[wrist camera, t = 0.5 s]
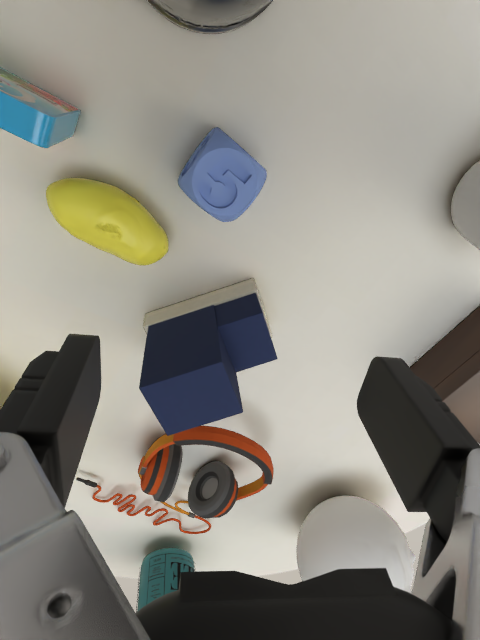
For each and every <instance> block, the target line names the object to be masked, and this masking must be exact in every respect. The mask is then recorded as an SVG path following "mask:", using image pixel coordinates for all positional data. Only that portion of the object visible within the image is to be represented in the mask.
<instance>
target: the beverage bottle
mask: <svg viewBox="0 0 480 640" xmlns="http://www.w3.org/2000/svg"><path fill="white" fill-rule="evenodd" d="M194 568H195V567H194V561H193V558H192V556H191V554H190V553H188V552H187V551H185V550H182V549H178V548H164V549H160V550H156V551H154V552H152V553H150V554H148V555H147V556H146V557H145V558H144V560H143V562H142V565H141V573H140V576H139V577H140V586H139V589H138V590H139V597H138V598H139V600H138V611H139V610H140V609H141V608H142V607H144V606H146V605H147V604H149V603H150V602H152V601H153V600H155V599H157V598H159V597H161V596H163V595H165V594H168V593H171V592H174V591H177V590H179V583H180V575H181V572H194V571H195V572H196V570H194Z"/></svg>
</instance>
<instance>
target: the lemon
mask: <svg viewBox="0 0 480 640" xmlns="http://www.w3.org/2000/svg"><path fill="white" fill-rule="evenodd" d="M46 198H47V203H48V206H49V209H50V211H51V213H52V215H53V216H54V218H55V219H56V221H57V222H58V223H59V224H60V225H61V226H62V227H63V228H64V229H65V230H67V231H68V232H69V233H70V234H71V235H73V236H74V237H76V238H78V239H80V240H82V241H84V242H86V243H88V244H90V245H92V246H94V247H96V248H98V249H100V250H103V251H105V252H108V253H111V254H113V255H115V256H117V257H119V258H121V259H123V260H125V261H127V262H130V263H133V264H136V265H149V264H152V263H155V262H157V261H158V260H160V259H161V258H162V257H163V256H164V255H165V254H166V253H167V252H168V238H167V235H166V233H165V231H164V230H163V229H162V227H161V226H160V225H159V224H158V222H157V221H156V220H155V219H154V218H153V217H152V215H151V214H150V213H149V212H148V211H147V210H146V209H145V208H144V207H143V206H142V205H141V204H140V203H139V201H137V200H136V199H135V198H133V197H131V196H130V195H129V194H127V193H125V192H124V191H122V190H121V189H119V188H117V187H115V186H113V185H109V184H106V183H103V182H99V181H95V180H90V179H83V178H66V179H62V180H59V181H56V182H54V183H52V184H50V185H49V186H48V187H47V190H46Z"/></svg>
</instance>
